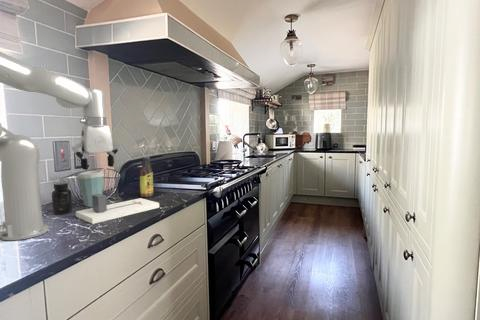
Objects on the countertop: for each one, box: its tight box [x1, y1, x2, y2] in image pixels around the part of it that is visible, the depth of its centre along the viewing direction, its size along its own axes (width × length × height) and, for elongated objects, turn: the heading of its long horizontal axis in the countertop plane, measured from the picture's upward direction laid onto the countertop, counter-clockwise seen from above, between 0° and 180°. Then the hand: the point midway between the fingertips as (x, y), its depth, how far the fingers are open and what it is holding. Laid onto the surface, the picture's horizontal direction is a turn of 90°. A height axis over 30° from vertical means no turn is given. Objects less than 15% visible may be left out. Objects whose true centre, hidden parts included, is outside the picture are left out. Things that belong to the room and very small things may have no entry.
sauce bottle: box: [139, 156, 154, 198], centre depth 145 cm, size 6×6×20 cm
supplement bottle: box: [51, 181, 74, 216], centre depth 117 cm, size 7×7×12 cm
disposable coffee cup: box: [77, 169, 105, 208], centre depth 128 cm, size 11×11×15 cm
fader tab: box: [92, 193, 108, 212], centre depth 111 cm, size 3×5×6 cm, turn 51°
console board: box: [75, 197, 160, 225], centre depth 118 cm, size 28×14×2 cm, turn 141°
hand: (98, 167), depth 110 cm, fingers open, 9 cm apart
